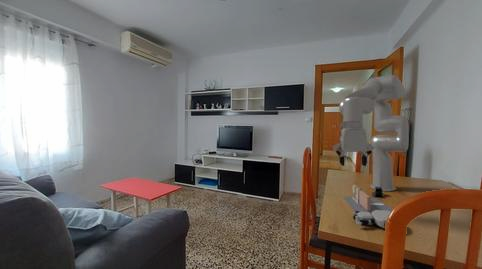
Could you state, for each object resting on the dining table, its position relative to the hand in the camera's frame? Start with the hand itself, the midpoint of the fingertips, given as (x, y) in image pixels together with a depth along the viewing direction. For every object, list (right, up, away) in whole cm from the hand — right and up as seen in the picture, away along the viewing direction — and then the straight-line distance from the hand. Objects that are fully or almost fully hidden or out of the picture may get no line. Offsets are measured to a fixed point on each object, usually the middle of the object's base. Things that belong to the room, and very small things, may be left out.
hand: (353, 165), depth 91 cm
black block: (+24, -20, +19) cm, 37 cm away
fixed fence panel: (+8, -20, +11) cm, 24 cm away
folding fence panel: (+6, -19, +2) cm, 20 cm away
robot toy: (+1, -21, -13) cm, 25 cm away
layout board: (+10, -20, +6) cm, 23 cm away
